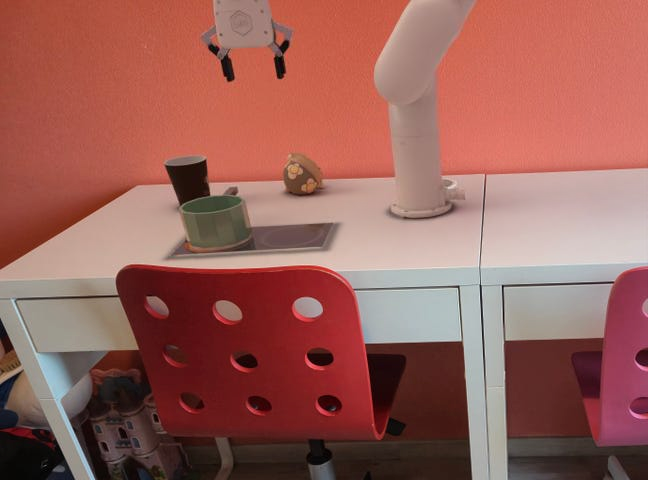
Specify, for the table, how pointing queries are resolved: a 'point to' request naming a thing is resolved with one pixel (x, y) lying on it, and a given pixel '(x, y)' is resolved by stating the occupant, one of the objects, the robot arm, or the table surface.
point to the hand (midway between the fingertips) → (256, 79)
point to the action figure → (301, 175)
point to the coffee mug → (188, 177)
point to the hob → (272, 239)
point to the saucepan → (216, 221)
